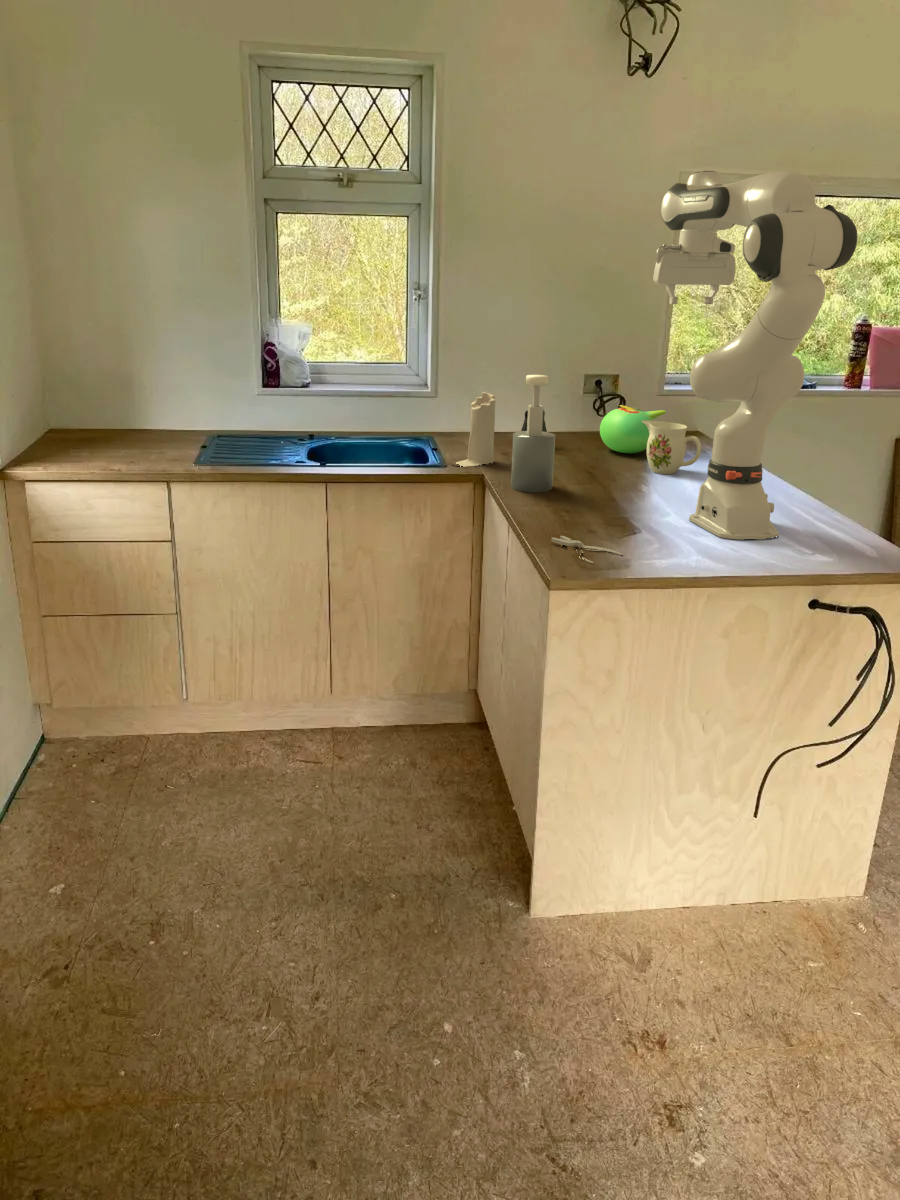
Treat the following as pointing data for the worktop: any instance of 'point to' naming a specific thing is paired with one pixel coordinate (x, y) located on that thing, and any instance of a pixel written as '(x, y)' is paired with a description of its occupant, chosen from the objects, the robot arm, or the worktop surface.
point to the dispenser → (533, 455)
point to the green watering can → (627, 429)
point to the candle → (481, 431)
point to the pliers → (580, 545)
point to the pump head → (536, 386)
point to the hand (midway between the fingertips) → (690, 304)
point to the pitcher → (668, 446)
